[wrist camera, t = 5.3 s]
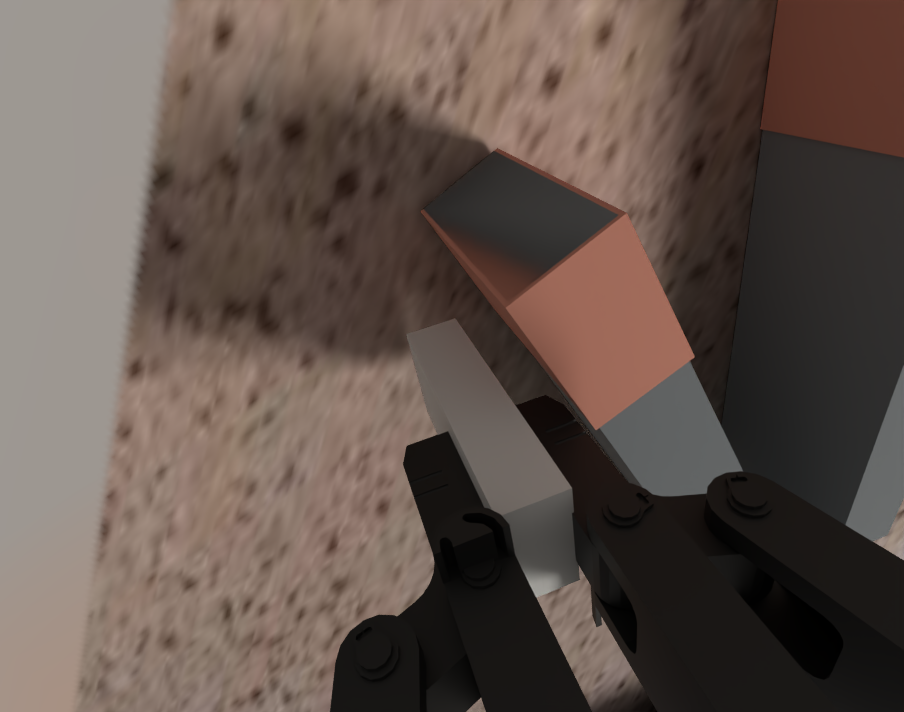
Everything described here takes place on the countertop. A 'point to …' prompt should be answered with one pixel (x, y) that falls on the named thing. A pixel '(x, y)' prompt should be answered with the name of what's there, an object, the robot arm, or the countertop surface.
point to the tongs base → (827, 267)
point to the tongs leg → (588, 317)
